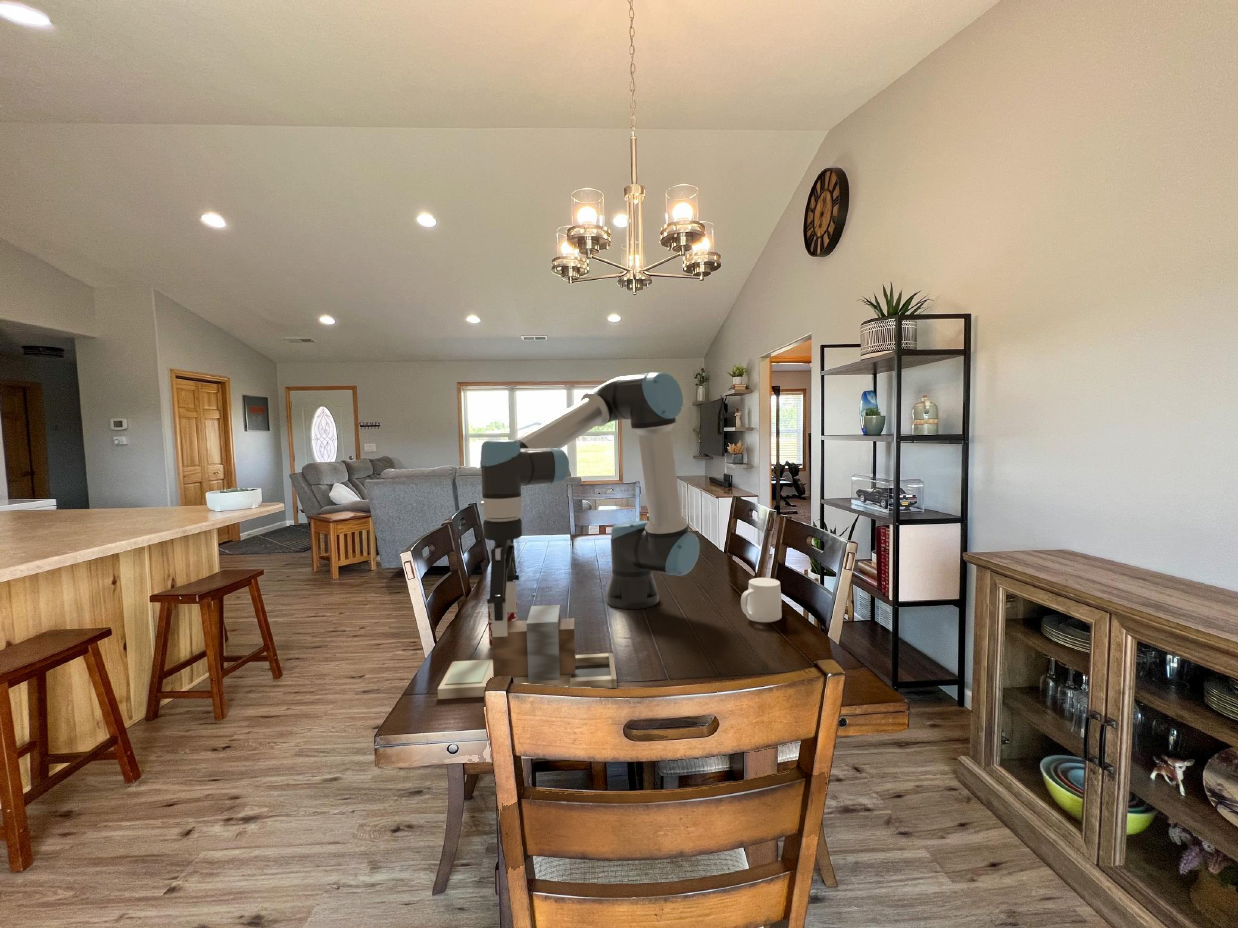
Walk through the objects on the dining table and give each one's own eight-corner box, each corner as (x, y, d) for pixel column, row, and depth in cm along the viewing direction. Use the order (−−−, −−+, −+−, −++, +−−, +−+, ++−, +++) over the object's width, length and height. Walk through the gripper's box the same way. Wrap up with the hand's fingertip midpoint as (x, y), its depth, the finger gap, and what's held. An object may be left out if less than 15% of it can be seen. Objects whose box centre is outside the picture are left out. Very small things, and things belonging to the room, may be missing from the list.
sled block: (575, 660, 113) (574, 618, 112) (575, 673, 107) (573, 628, 106) (498, 664, 112) (496, 621, 111) (493, 677, 106) (491, 632, 105)
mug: (768, 575, 146) (789, 582, 139) (768, 609, 147) (789, 618, 140) (732, 582, 141) (752, 590, 134) (732, 616, 142) (752, 626, 135)
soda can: (491, 640, 130) (489, 591, 129) (520, 639, 130) (518, 590, 129) (487, 652, 123) (485, 601, 122) (517, 650, 124) (515, 599, 123)
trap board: (613, 661, 116) (611, 600, 115) (616, 688, 104) (615, 620, 103) (453, 670, 114) (450, 608, 113) (438, 698, 102) (434, 629, 101)
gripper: (493, 509, 119) (496, 604, 120) (470, 529, 94) (473, 648, 95) (527, 508, 119) (530, 602, 120) (513, 528, 94) (516, 647, 96)
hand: (505, 623), depth 108 cm, fingers open, 13 cm apart
